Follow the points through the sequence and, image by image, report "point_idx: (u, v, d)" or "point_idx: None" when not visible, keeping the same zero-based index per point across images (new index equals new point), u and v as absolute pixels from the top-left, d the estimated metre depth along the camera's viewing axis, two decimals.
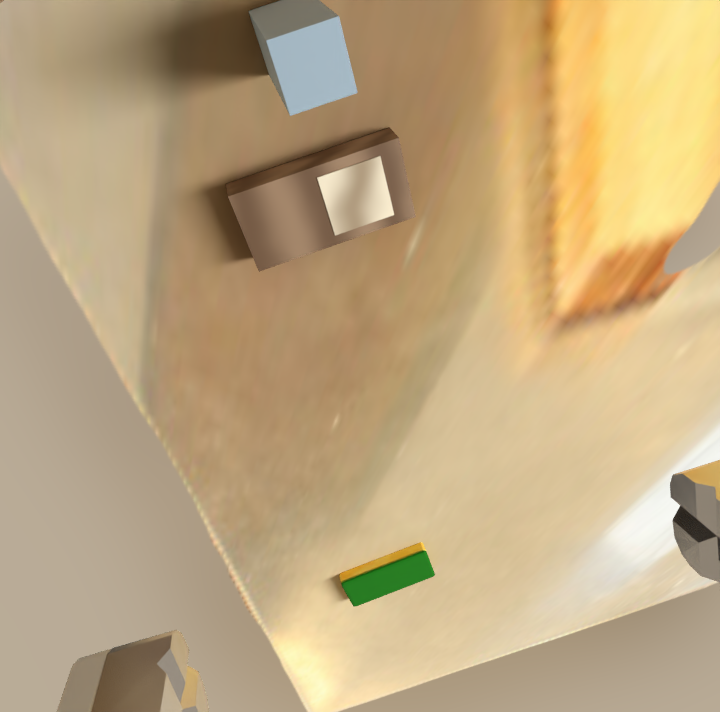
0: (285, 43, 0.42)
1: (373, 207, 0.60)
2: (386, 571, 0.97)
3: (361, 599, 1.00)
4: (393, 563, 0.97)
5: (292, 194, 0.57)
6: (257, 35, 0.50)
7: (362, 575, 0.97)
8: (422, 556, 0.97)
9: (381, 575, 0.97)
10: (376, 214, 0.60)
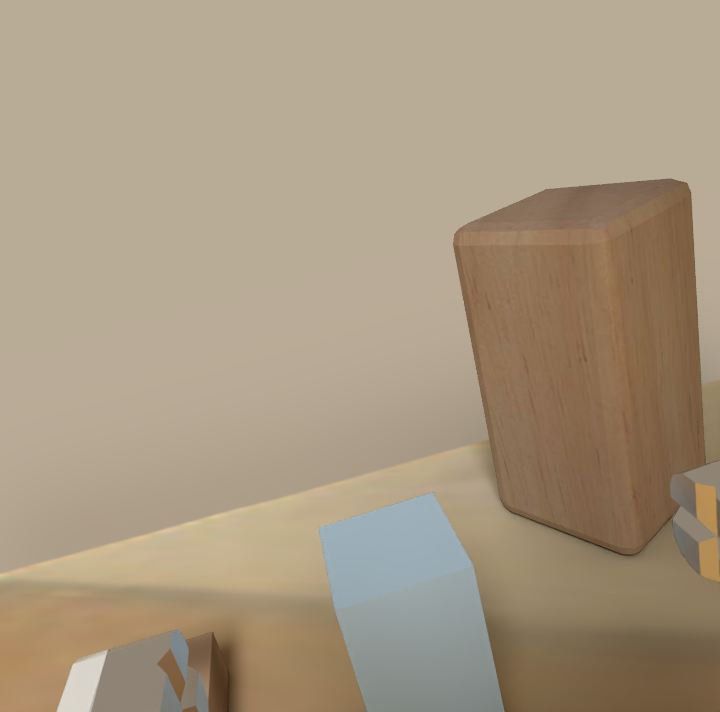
0: (428, 510, 0.26)
1: None
2: None
3: None
4: None
5: None
6: None
7: None
8: None
9: None
10: None
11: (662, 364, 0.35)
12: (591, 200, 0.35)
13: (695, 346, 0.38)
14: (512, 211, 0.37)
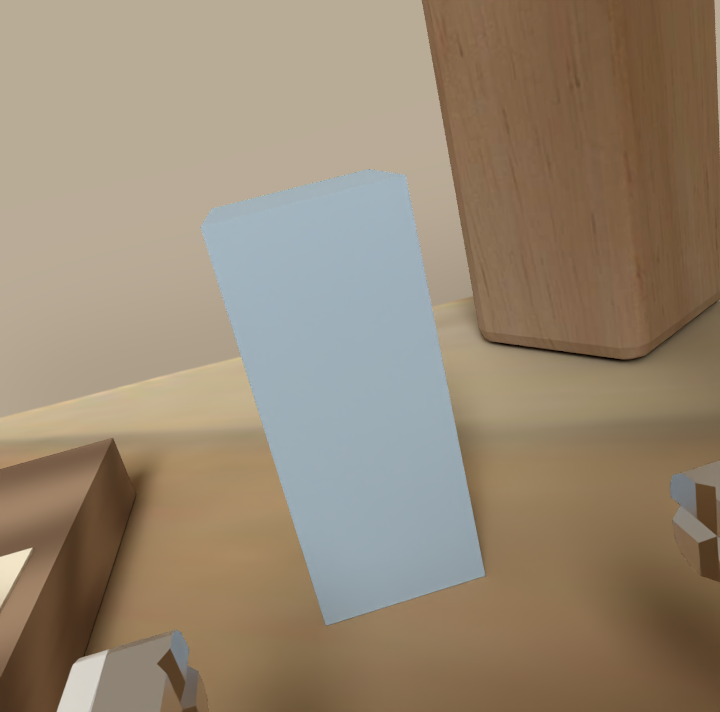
0: (357, 174, 0.19)
1: None
2: None
3: None
4: None
5: (35, 514, 0.23)
6: None
7: None
8: None
9: None
10: None
11: (674, 110, 0.28)
12: None
13: (715, 108, 0.31)
14: None
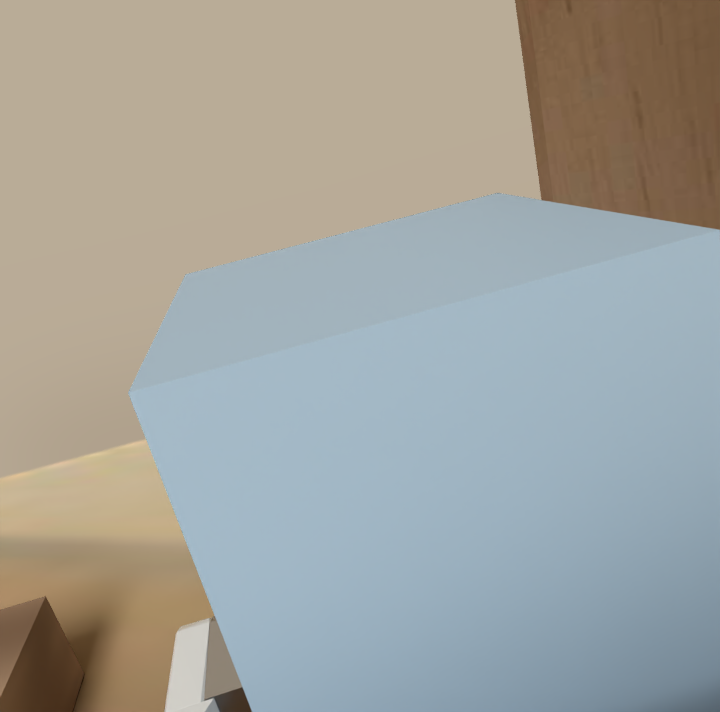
0: (492, 207, 0.09)
1: None
2: None
3: None
4: None
5: None
6: None
7: None
8: None
9: None
10: None
11: None
12: None
13: None
14: None
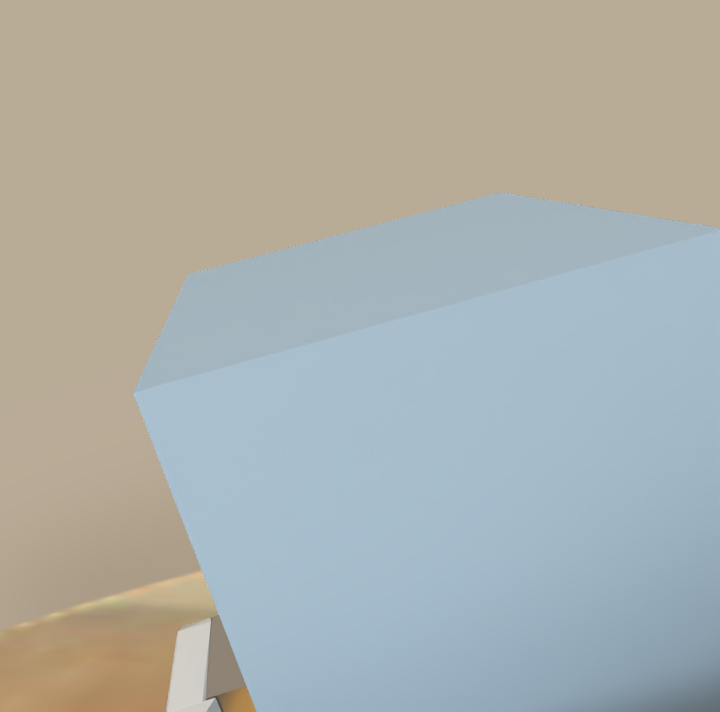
0: (495, 206, 0.09)
1: None
2: None
3: None
4: None
5: None
6: None
7: None
8: None
9: None
10: None
11: None
12: None
13: None
14: None
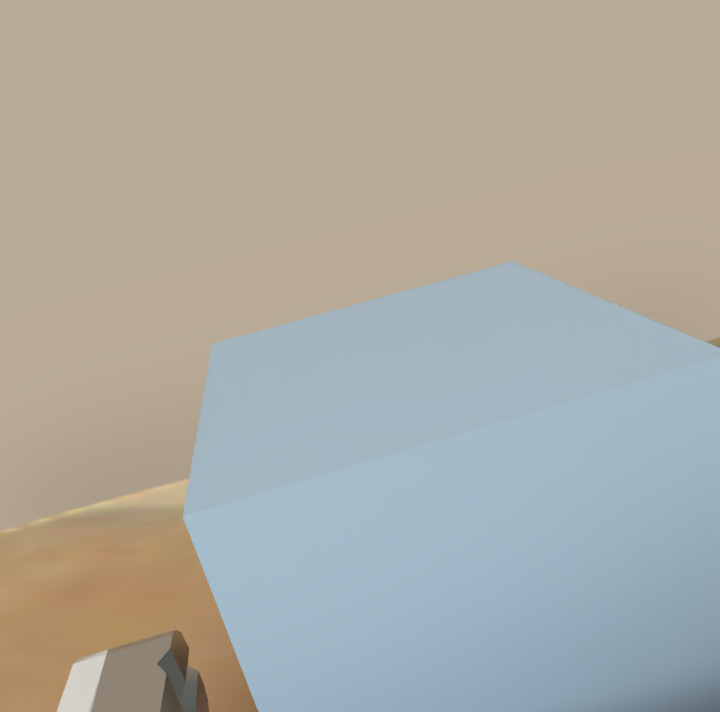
0: (509, 283, 0.09)
1: None
2: None
3: None
4: None
5: None
6: None
7: None
8: None
9: None
10: None
11: None
12: None
13: None
14: None
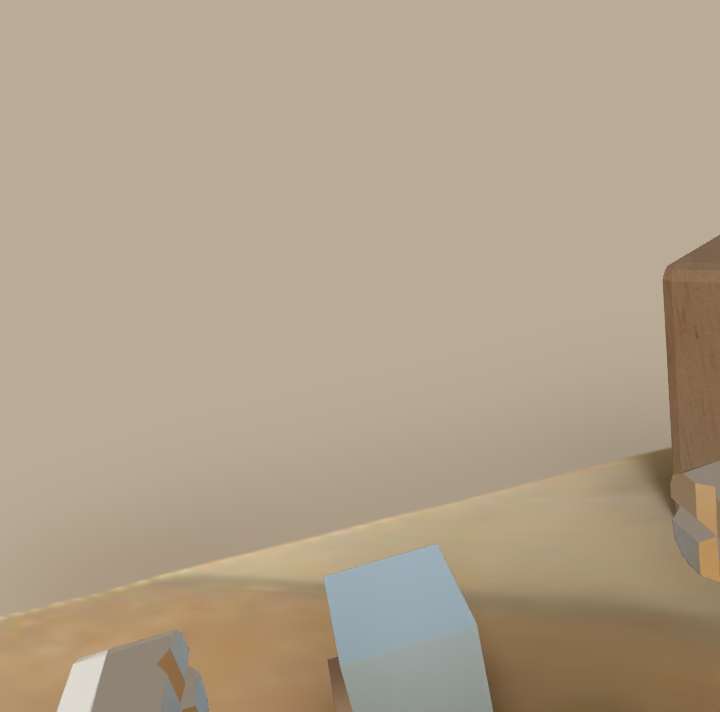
0: (432, 563, 0.26)
1: None
2: None
3: None
4: None
5: None
6: None
7: None
8: None
9: None
10: None
11: None
12: None
13: None
14: (717, 251, 0.42)
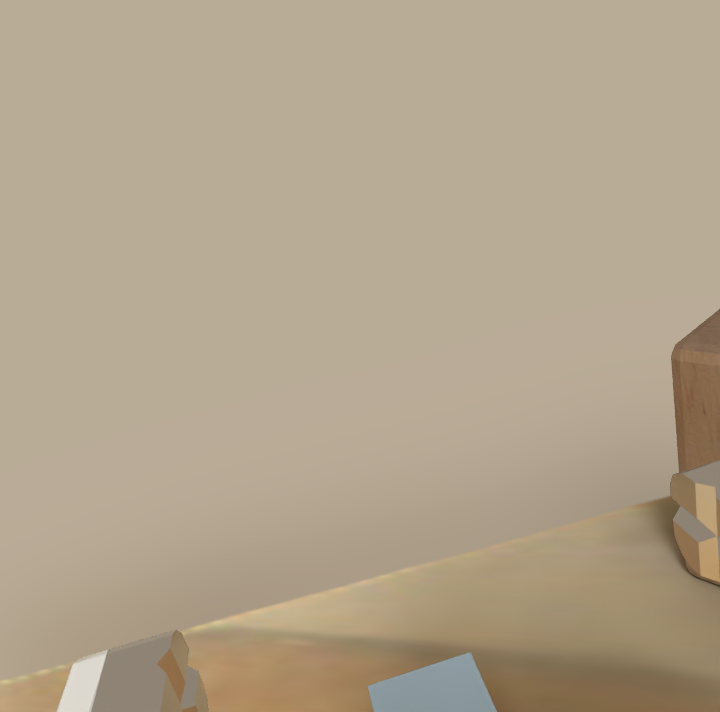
0: (467, 674, 0.29)
1: None
2: None
3: None
4: None
5: None
6: None
7: None
8: None
9: None
10: None
11: None
12: None
13: None
14: None
